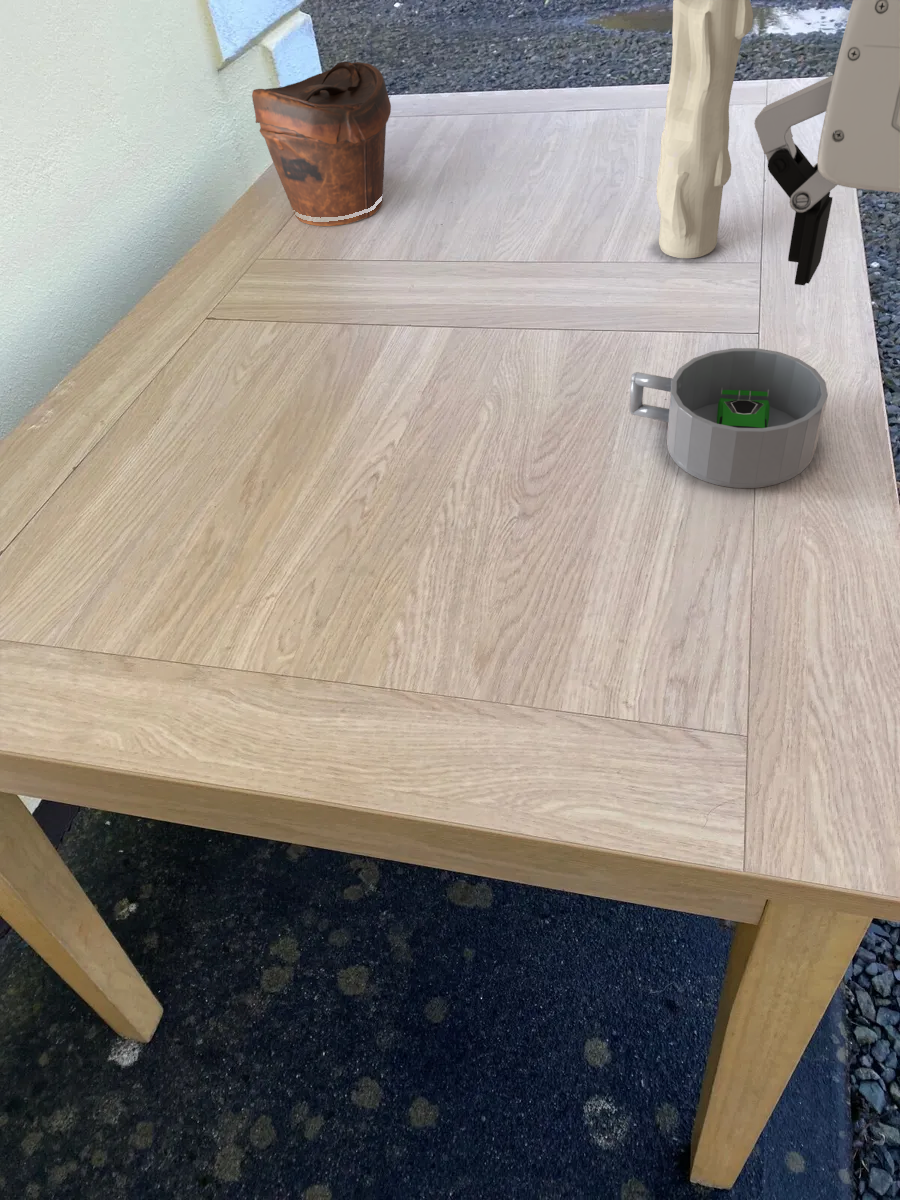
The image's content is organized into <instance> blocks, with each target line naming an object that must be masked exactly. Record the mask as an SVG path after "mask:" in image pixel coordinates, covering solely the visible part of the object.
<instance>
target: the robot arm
mask: <svg viewBox="0 0 900 1200" xmlns="http://www.w3.org/2000/svg"><path fill="white" fill-rule="evenodd" d="M844 28H845V29H844V32H843V36H842V40H841V45H840V48H839V52H838V56H837V60H836V64H835V68H834V69H835V70H834V73H833V74H832V75H830V76H828V77H825V78H823V79H821V80H819V81H817V82H814V83H813V84H810V85H808V86H806V87H803V88H802V89H800V90H798V91H795V92H793V93H791V94H789V95H786V96H785V97H782V98H780V99H777V100H776V101H773V102H772V103H769V104H767V105H766V106H764V107H763V108H762V109H761V111H760V112H759V113H758V115H756V117H755V119H754V122H753V123H754V128H755V131H756V135H757V137H758V140H759V142H760V143H759V144H760V145H761V148H762V151H763V154H764V155H765V157H766V160H767V169H768V171H769V173H770V175H771V176H772V177H773V179H774V180H775V182H777V184H778V185H779V186H780V187H781V189H782V190H783V192H784V193H785V194H786V195H787V197H788V198H789V206H790V207H791V209H792V210H793V211H794V212H795V214H794V220H793V226H792V233H791V238H790V244H789V250H788V257H787V258H788V259H787V262H791V263H797V266H796V273H795V278H794V285H797V286H806V284H810V282H811V280H812V278H813V277H814V275H815V273H816V271H817V269H818V268H819V266H820V263H821V261H822V256H823V250H824V246H825V242H826V241H825V240H826V235H827V230H828V229H827V228H828V225H829V220H830V214H831V208H832V204H833V197H832V196H830V195H831V191H832V190H833V189H834V188H835V187H837V186H841V187H845V188H849V189H850V188H851V189H858V190H868V191H877V192H889V193H896V194H897V193H899V194H900V0H852V2H851V6H850V10H849V13H848V17H847V20H846V25H845V27H844ZM823 113H824V114H825V115H824V119H823V123H822V129H821V134H820V138H819V143H818V150H817V162H816V163H815V164H811V162H810V161H809V160H808V157H806V155H804V153H803V152H802V150H801V149H800V147H799V146H798V145H797V144H796V143H795V142H794V139H793V137H794V135H793V133H792V127H794V126H796V125H798V124H800V123H802V122H805V121H807V120H810V119H812V118H814V117H816V116H818V115H821V114H823Z"/></svg>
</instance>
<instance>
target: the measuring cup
mask: <svg viewBox="0 0 900 1200" xmlns="http://www.w3.org/2000/svg"><path fill="white" fill-rule="evenodd" d="M629 388H630V391H629V413H630V415H632V416H635V417H640V418H646V419H651V420H656V421H659V422H660V421H661V422H666V423H667V432H666V447H667V451H668V455H669V456H670V458H671V459H672V460H673V462H674V463H675V464H676V465H677V466H678V467H679V468H680V469H682V470H683V471H684V472H686V473H687V474H688V475H690V476H692V477H694V478H696V479H698V480H700V481H703V482H706V483H709V484H712V485H715V486H721V487H727V488H735V489H758V488H759V489H760V488H764V487H765V488H766V487H771V486H775V485H778V484H782V483H785V482H787V481H789V480H792V479H793V478H795V477H796V476H798V475H800V474H801V473H802V472H803V471H805V470H806V468H808V466H809V465H810V464H811V462H812V460H813V458H814V455H815V452H816V449H817V446H818V442H819V437H820V432H821V428H822V423H823V419H824V415H825V409H826V405H827V400H828V389H827V383H826V381H825V379H824V378H823V376H821V374H820V372H819V371H818V370H817V369H816V368H814V367H813V366H811V365H810V364H808V363H806V362H805V361H803V359H799V358H798V357H795V356H792V355H789V354H786V353H783V352H781V351H777V350H770V349H765V348H764V349H763V348H757V347H736V348H735V347H734V348H726V349H719V350H713V351H710V352H707V353H704V354H701V355H699V356H696V357H694V358H692V359H690V360H688V361H687V362H686V363H685V364H683V365H682V366H680V367H679V368H678V369H677V371H676V372H675V374H674V375H673V377H668V376H661V375H655V374H651V373H645V372H639V371H636V372H633V373H632V374H631V376H630V387H629ZM644 388H647V389H653V390H659V391H663V392H669V403H668V404H669V405H668V408H667V407H661V406H657V405H651V404H647V403H644ZM721 389H722V390H748V391H762V392H768V390H769V394H768V398H767V396H750V400H768V401H769V405H770V410H769V421H768V423H769V424H768V427H767V428H737V427H732V426H727V425H722V424H717V411H718V403H719V400H720V398H727V399H737V400H738V396H739V395H727V394H722V396H721ZM739 400H749V395H740V397H739ZM715 421H716V423H715Z"/></svg>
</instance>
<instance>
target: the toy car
mask: <svg viewBox="0 0 900 1200" xmlns="http://www.w3.org/2000/svg"><path fill="white" fill-rule="evenodd" d="M722 394H727V395H739V396H738V400H737V399H727V398H720V400H719V403H718V411H717V424H722V425H727V426H732V427H737V428H767V427H768V424H769V423H768V421H769V410H770V405H769V401H768V400H750V396H767V398H768V394H769V390H768V392H762V391H748V390H722V389H721V396H722ZM740 395H749V400H739V397H740ZM715 423H716V421H715Z"/></svg>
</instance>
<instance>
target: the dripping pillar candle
mask: <svg viewBox="0 0 900 1200" xmlns="http://www.w3.org/2000/svg"><path fill="white" fill-rule="evenodd" d="M753 21H754V12H753V7H752V3H751V0H673V2H672V31H671V37H672V52H671V65H670V74H669V75H670V76H669V83H668V88H667V94H666V103H665V119H664V120H665V121H664V128H663V131H662V133H661V138H660V139H661V140H660V159H659V165H658V171H657V176H656V201H657V206H658V209H659V213H660V219H659V220H660V221H659V233H658V235H659V236H658V244H659V248H660V250H661V251H662V253H664V254H665V255H667V256H670V257H673V258H676V259H677V258H678V259H696V258H700V257H704V256H706V255H708V254H710V253H712V252H713V251H714V250H715V248H716V247H717V243H718V235H719V228H720V227H719V225H720V218H721V207H722V199H723V190H724V186H725V185H726V184H727V183H728V182H729V181H730V178H731V175H732V161H731V155H730V152H729V139H730V103H731V102H730V101H731V95H732V90H733V85H734V79H735V75H736V71H737V65H738V59H739V54H740V49H741V46H742V40H743V38H744V37H746V36H747V35H748V34H749V32H750V31H751V30H752V29H753V27H752V26H753Z"/></svg>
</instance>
